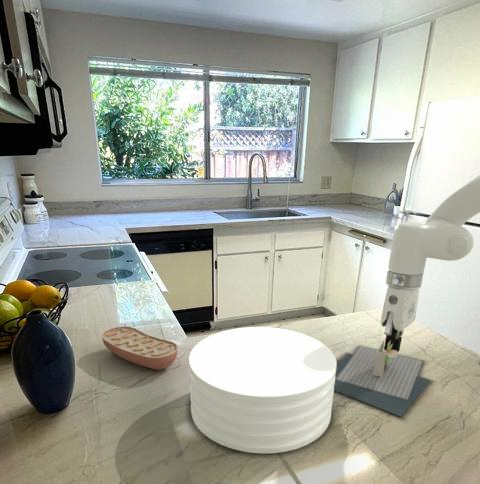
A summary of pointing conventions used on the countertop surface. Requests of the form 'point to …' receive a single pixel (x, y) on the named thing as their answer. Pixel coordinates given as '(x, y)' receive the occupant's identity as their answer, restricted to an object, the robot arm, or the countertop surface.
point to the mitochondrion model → (140, 347)
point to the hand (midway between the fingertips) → (391, 350)
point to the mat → (375, 397)
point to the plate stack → (261, 388)
